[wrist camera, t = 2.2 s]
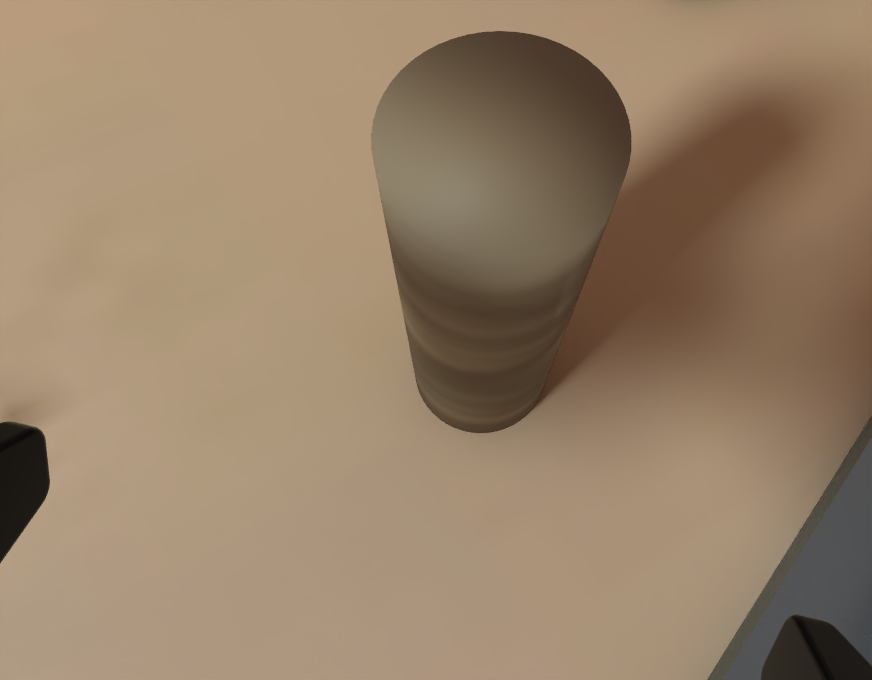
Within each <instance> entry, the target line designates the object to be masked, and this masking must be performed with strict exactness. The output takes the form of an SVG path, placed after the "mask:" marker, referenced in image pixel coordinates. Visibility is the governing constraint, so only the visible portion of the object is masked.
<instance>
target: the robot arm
mask: <svg viewBox="0 0 872 680" xmlns="http://www.w3.org/2000/svg"><path fill="white" fill-rule="evenodd" d="M49 485H50V477H49V468H48V459H47V450H46V440H45V436H44V434H43V433H42V431H41V430H40V429H38V428H36V427H33V426H29V425H25V424H20V423H16V422H2V423H0V563H1V561H2V560H3V559H4V557H5V556H6V554H7V553H8V552H9V550H10V549H11V547H12V546H13V544H14V543H15V542H16V540H17V539H18V537H19V536H20V535H21V533H22V532H23V530H24V529H25V527H26V526H27V525H28V523H29V522H30V520H31V519H32V518H33V516H34V515H35V513H36V512H37V510H38V509H39V508H40V506H41V505H42V503H43V502H44V500H45V498H46V496H47V493H48V490H49ZM761 680H872V665H871V664H870V663H869V662H868V661H867V660H866V659H865V658H864V657H863V656H862V655H861V654H860V653H859V652H858V651H857V650H856V648H855V647H854V646H853V645H852V644H851V643H850V642H849V641H848V640H847V639H846V638H845V637H844V636H843V635H842V634H841V633H840V632H839V631H838V630H837V629H836V628H835V627H834V626H833V625H832V624H830V623H828V622H825V621H822V620H818V619H813V618H809V617H805V616H801V615H792V616H789V617H788V618H787V619H786V621H785V622H784V624H783V626H782V628H781V630H780V632H779V634H778V636H777V638H776V640H775V642H774V644H773V646H772V648H771V650H770V652H769V654H768V656H767V658H766V660H765V662H764V665H763V668H762V673H761Z"/></svg>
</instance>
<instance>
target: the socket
mask: <svg viewBox="0 0 872 680" xmlns="http://www.w3.org/2000/svg"><path fill="white" fill-rule="evenodd" d="M792 615H801V616H805V617H809V618H813V619H818V620H822V621H825V622H828V623H830V624H832V625H833V626H834V627H835V628H836V629H837V630H838V631H839V632H840V633H841V634H842V635H843V636H844V637H845V638H846V639H847V640H848V641H849V642H850V643H851V644H852V645H853V646H854V647H855V648H856V650H857V651H858V652H859V653H860V654H861V655H862V656H863V657H864V658H865V659H866V660H867V661H868V662H869V663H870V664H871V665H872V416H871V418H870V420H869V421H868V423H867V424H866V426H865V428H864V429H863V431H862V432H861V434H860V436H859V437H858V439H857V440H856V442H855V444H854V445H853V447H852V448H851V450H850V452H849V453H848V455H847V457H846V458H845V460H844V461H843V463H842V465H841V466H840V468H839V469H838V471H837V473H836V474H835V476H834V477H833V479H832V481H831V482H830V484H829V485H828V487H827V489H826V490H825V492H824V493H823V495H822V497H821V498H820V500H819V501H818V503H817V505H816V506H815V508H814V510H813V511H812V513H811V514H810V516H809V518H808V519H807V521H806V522H805V524H804V526H803V527H802V529H801V530H800V532H799V534H798V535H797V537H796V538H795V540H794V542H793V543H792V545H791V546H790V548H789V550H788V551H787V553H786V554H785V556H784V558H783V559H782V561H781V563H780V564H779V566H778V567H777V569H776V571H775V572H774V574H773V575H772V577H771V579H770V580H769V582H768V583H767V585H766V587H765V588H764V590H763V591H762V593H761V595H760V596H759V598H758V599H757V601H756V603H755V604H754V606H753V607H752V609H751V611H750V612H749V614H748V615H747V617H746V619H745V620H744V622H743V624H742V625H741V627H740V628H739V630H738V632H737V633H736V635H735V636H734V638H733V640H732V641H731V643H730V644H729V646H728V648H727V649H726V651H725V652H724V654H723V656H722V657H721V659H720V660H719V662H718V664H717V665H716V667H715V668H714V670H713V672H712V673H711V675H710V677H709V678H708V680H761V673H762V668H763V665H764V662H765V660H766V658H767V656H768V654H769V652H770V650H771V648H772V646H773V644H774V642H775V640H776V638H777V636H778V634H779V632H780V630H781V628H782V626H783V624H784V622H785V621H786V619H787V618H788V617H789V616H792Z"/></svg>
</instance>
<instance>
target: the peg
mask: <svg viewBox="0 0 872 680" xmlns="http://www.w3.org/2000/svg"><path fill="white" fill-rule="evenodd" d="M371 145H372V155H373V160H374V166H375V171H376V176H377V181H378V187H379V192H380V197H381V202H382V207H383V212H384V217H385V223H386V228H387V233H388V238H389V243H390V248H391V254H392V259H393V264H394V269H395V274H396V279H397V284H398V290H399V295H400V300H401V305H402V310H403V315H404V321H405V326H406V331H407V336H408V341H409V346H410V352H411V357H412V362H413V367H414V372H415V377H416V382H417V386H418V390H419V393H420V395H421V397H422V399H423V401H424V402H425V404H426V405H427V407H428V408H429V409H430V410H431V411H432V413H433V414H435V415H436V416H437V417H438V418H439V419H440V420H442V421H443V422H445V423H446V424H448V425H450V426H452V427H454V428H457V429H460V430H463V431H467V432H474V433H489V432H494V431H499V430H502V429H505V428H507V427H510V426H512V425H514V424H515V423H517V422H518V421H520V420H521V419H522V418H524V417H525V416H526V415H527V414H528V413H529V412H530V411H531V410H532V408H533V407H534V406H535V404H536V403H537V401H538V399H539V397H540V395H541V393H542V390H543V387H544V385H545V382H546V380H547V377H548V374H549V372H550V369H551V367H552V364H553V362H554V359H555V356H556V354H557V351H558V349H559V346H560V343H561V341H562V338H563V336H564V333H565V330H566V328H567V325H568V323H569V320H570V318H571V315H572V312H573V310H574V307H575V305H576V302H577V299H578V297H579V294H580V292H581V289H582V287H583V284H584V281H585V279H586V276H587V274H588V271H589V268H590V266H591V263H592V261H593V258H594V256H595V253H596V250H597V248H598V245H599V243H600V240H601V237H602V235H603V232H604V230H605V227H606V225H607V222H608V219H609V217H610V214H611V212H612V209H613V206H614V204H615V201H616V199H617V196H618V193H619V191H620V188H621V186H622V183H623V181H624V178H625V175H626V172H627V169H628V165H629V161H630V154H631V130H630V124H629V119H628V116H627V113H626V110H625V107H624V105H623V103H622V100H621V98H620V96H619V94H618V93H617V91H616V90H615V88H614V87H613V85H612V84H611V82H610V81H609V80H608V79H607V78H606V76H605V75H604V74H603V73H602V72H601V71H600V70H599V69H598V68H597V67H596V66H595V65H593V64H592V63H591V62H590V61H589V60H588V59H586V58H585V57H583V56H582V55H580V54H579V53H577V52H576V51H574V50H572V49H570V48H568V47H566V46H564V45H562V44H560V43H557V42H555V41H552V40H549V39H547V38H543V37H539V36H535V35H532V34H525V33H519V32H505V31H495V32H481V33H475V34H469V35H465V36H461V37H458V38H454V39H451V40H449V41H446V42H444V43H441V44H439V45H436V46H435V47H433V48H431V49H429V50H427V51H425V52H424V53H422V54H421V55H419V56H418V57H416V58H415V59H414V60H412V61H411V62H410V63H409V64H408V65H407V66H405V67H404V68H403V69H402V70H401V71H400V72H399V73H398V75H397V76H396V77H395V78H394V79H393V80H392V82H391V83H390V84H389V86H388V88H387V89H386V91H385V92H384V94H383V96H382V98H381V100H380V102H379V104H378V107H377V110H376V113H375V117H374V120H373V126H372V134H371Z"/></svg>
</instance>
